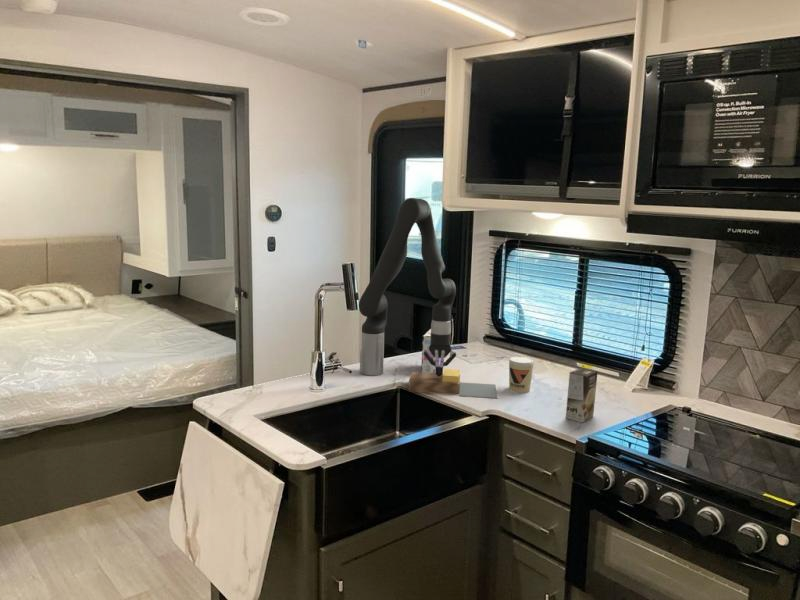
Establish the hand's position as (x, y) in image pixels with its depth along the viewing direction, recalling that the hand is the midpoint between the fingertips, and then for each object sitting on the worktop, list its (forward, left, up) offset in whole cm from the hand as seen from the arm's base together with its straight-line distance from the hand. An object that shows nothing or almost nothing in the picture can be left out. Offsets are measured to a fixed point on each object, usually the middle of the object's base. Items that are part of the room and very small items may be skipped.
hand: (439, 375), depth 235 cm
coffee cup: (+31, +4, -5) cm, 32 cm away
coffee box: (+49, -22, -5) cm, 54 cm away
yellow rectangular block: (+5, 0, -1) cm, 5 cm away
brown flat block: (-2, 0, -5) cm, 5 cm away
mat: (+15, 0, -5) cm, 16 cm away
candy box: (-4, +23, -5) cm, 24 cm away
